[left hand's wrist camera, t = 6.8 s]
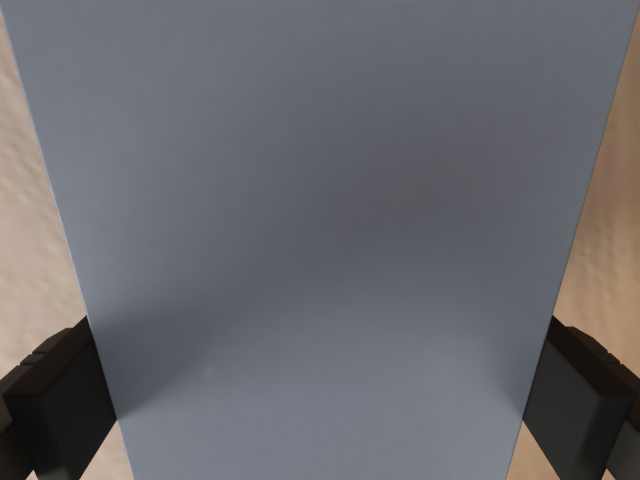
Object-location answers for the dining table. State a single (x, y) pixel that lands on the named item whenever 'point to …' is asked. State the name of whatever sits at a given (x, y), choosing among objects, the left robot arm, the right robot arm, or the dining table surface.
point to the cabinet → (319, 218)
